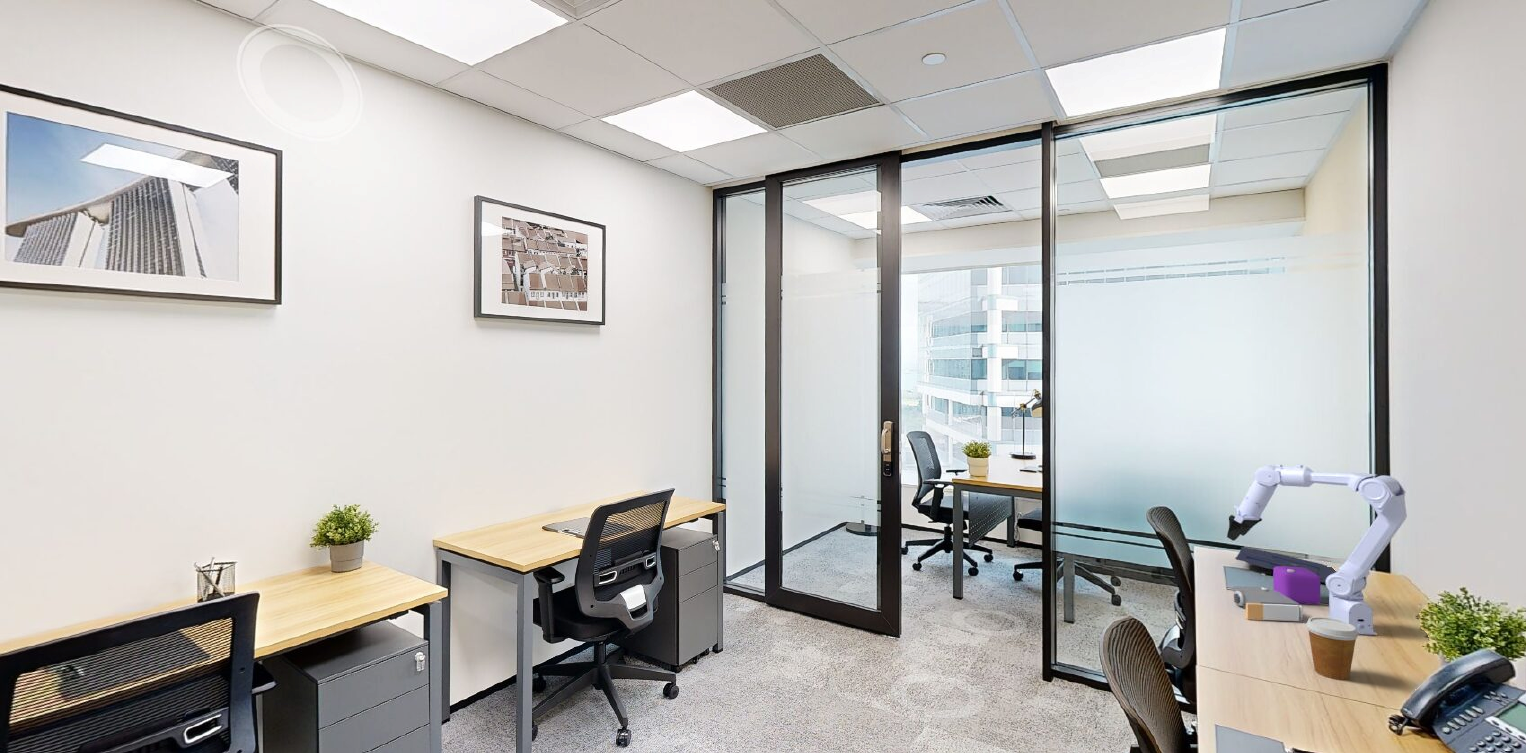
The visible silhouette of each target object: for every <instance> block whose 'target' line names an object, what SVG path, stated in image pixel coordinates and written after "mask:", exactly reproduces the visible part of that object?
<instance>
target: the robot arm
mask: <svg viewBox="0 0 1526 753" xmlns="http://www.w3.org/2000/svg"><path fill="white" fill-rule="evenodd" d="M1254 478H1255V479H1254V480H1253V482H1252V484H1251V485H1250V487H1249V489H1248V490H1247V492H1246V494H1245V496H1244V497H1243V499H1242V502H1241V503H1240V505H1238V504H1235V505H1234V506H1233V509H1235V510H1236V515H1233V514H1230V515H1229V516H1228V522H1229V523H1228V531H1227V535H1226V538H1228V539H1229V540H1231V541H1236V540H1237V539H1238V538H1239V537H1240V535H1241V536H1246V535H1247V533H1249V531H1251V529H1252V528H1253V527H1254V526H1256V525H1258V524H1259V523H1260V522H1262V521H1263V518H1261V516H1262V514H1263V513H1264V511H1265V509H1266V507H1267V506H1268V504H1269V502H1270V500H1271V499H1272V497H1273V495H1274V494H1275V491H1276V489H1277V488H1278V485H1280V486H1284V487H1285V486H1286V487H1299V488H1300V487H1303V488H1310V487H1311V486H1312V485H1313V484H1320V485H1321V484H1322V485H1323V484H1325V485H1335V486H1345V487H1348V488H1349V489H1350V490H1352V491H1353V492H1355V493H1357V492H1358V493H1359V494H1360V496H1361V497H1362V498H1363V499H1364V500H1365V501H1367V503H1368V504H1370V505H1371V507H1373V508H1372V509H1373V510H1374V511H1375V513H1376V514H1377V516H1376V518H1375V520H1374V521H1373V522H1372V524H1371V525H1370V527H1369V528H1368V529H1367V531H1366V532H1365V534H1364V536H1363V537H1362V538H1361V540H1360V541H1359V542H1358V544H1357V545H1356V546H1355V548H1354V550H1353V551H1352V553H1351V554H1350V555H1349V557H1348V558H1347V560H1346V561H1345V562H1344V563H1343V564H1342V565H1341V566H1339V568H1338V571H1337V572H1336V573H1334V574H1331V575H1329V576H1328V577H1327V578H1326V583H1325V586H1326V588H1327V589H1328V598H1329V600H1328V601H1329V602H1328V609H1329V610H1328V612H1329V613H1328V614H1329V615H1328V618H1331V619H1336V620H1340V621H1343V622H1347V623H1349V624H1351V625H1353V626H1354V627H1355V628H1356V631H1357V632H1358V634H1359V635H1371V636H1373V635H1375V636H1377V632H1376V631H1374V612H1373V610H1372V608H1371V606H1369V605H1368V604H1367V603H1366V602H1365V596H1364V593H1363V590H1365V588H1367V586H1368V583H1367V581H1368V580H1367V579H1368V577H1369V575H1370V573H1371V572H1370V571H1371V569H1372V568H1373V565H1374V564H1375V563H1376V562H1377V560H1378V559H1379V557H1380V556H1381V554H1382V553H1383V552H1384V550H1385V549H1386V547H1387V546H1388V545H1389V544H1390V542H1391V541H1392V539H1393V537H1394V536H1395V535H1396V533H1397V532H1398V531H1399V529H1400V528H1401V527H1402V525H1403V523H1404V522H1405V521H1406V519H1407V516H1408V514H1407V508H1406V500H1405V499H1406V498H1405V496H1406V490H1405V489H1404V487H1403V486H1402V485H1401V483H1400V482H1399V480H1397V479H1396V478H1395V477H1392V476H1390V475H1377V474H1373V473H1365V472H1364V473H1363V472H1338V471H1337V472H1332V471H1329V472H1328V471H1326V472H1324V471H1313V470H1312V469H1311V468H1309V467H1305V466H1304V465H1303V464H1296V465H1295V466H1284V465H1282V464H1277V465H1275V464H1274V465H1267V466H1266V465H1265V466H1261V467H1259V468H1258V469H1256V470H1255V473H1254Z"/></svg>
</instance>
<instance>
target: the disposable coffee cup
mask: <svg viewBox="0 0 1526 753" xmlns="http://www.w3.org/2000/svg"><path fill="white" fill-rule="evenodd" d="M1305 627H1306V629H1307V630H1308V636H1309V637H1308V638H1309V642H1310V649H1311V656H1312V661H1313V662H1312V663H1313V667H1314V668H1313V669H1314V671H1315V672H1316V673H1317V674H1318V675H1321V676H1323V677H1327V678H1329V679H1333V680H1339V681H1340V680H1342V681H1343V680H1349V679H1350V675H1351V668H1352V663H1353V658H1354V652H1355V647H1356V646H1355V645H1356V642H1357V641H1356V640H1357V639H1358V637H1359V635H1360V634H1358V632H1357V631H1356V628H1355V627H1354V626H1353V625H1351V624H1349V623H1347V622H1343V621H1340V620H1336V619H1331V618H1329V617H1322V616H1313V617H1309V618H1308V620H1307V622H1306V623H1305Z"/></svg>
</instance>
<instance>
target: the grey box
mask: <svg viewBox="0 0 1526 753" xmlns="http://www.w3.org/2000/svg"><path fill="white" fill-rule="evenodd" d="M1233 602H1234V603H1235V605H1236V606H1238V607H1241V608H1243V609H1244V610H1246V603H1259V604H1284V605H1298V606H1299V621H1298V622H1303V620H1304V607H1303V605H1302V604H1300V603H1297V602H1295V601H1293V600H1292V599H1290V598H1288V597H1286V596H1284V595H1283V594H1281V593H1279V592H1277V591H1275V590H1274V588H1272V587H1268V586H1243V585H1242V586H1240V585H1234V586H1233Z"/></svg>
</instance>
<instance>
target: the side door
mask: <svg viewBox="0 0 1526 753" xmlns="http://www.w3.org/2000/svg"><path fill="white" fill-rule="evenodd" d="M1245 617H1246V619H1247V620H1259V621H1260V620H1261V621H1263V620H1264V621H1284V622H1287V621H1288V622H1300V621H1299V606H1298V605H1284V604H1259V603H1246V609H1245Z"/></svg>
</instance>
